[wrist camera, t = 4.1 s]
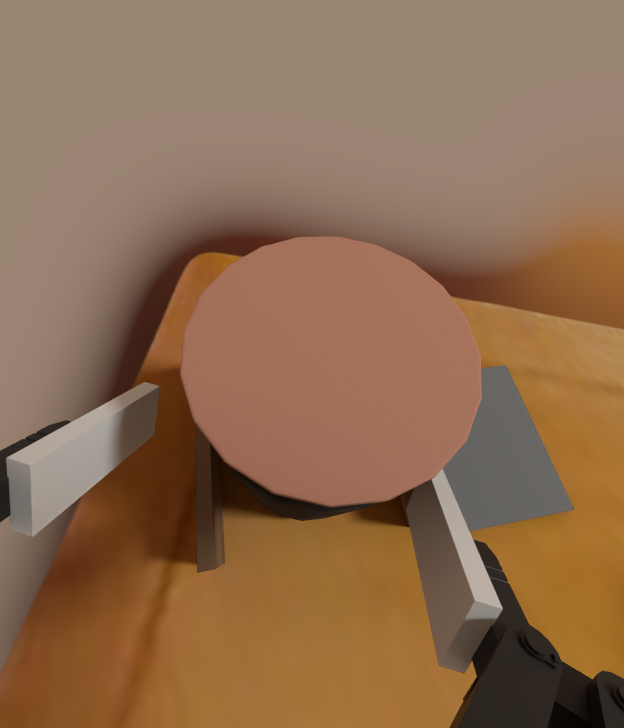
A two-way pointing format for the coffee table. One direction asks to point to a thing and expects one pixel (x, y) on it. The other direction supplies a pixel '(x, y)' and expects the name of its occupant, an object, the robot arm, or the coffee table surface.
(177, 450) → the coffee table surface
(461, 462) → the charcoal mat
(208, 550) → the walnut holder
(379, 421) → the coffee jar
